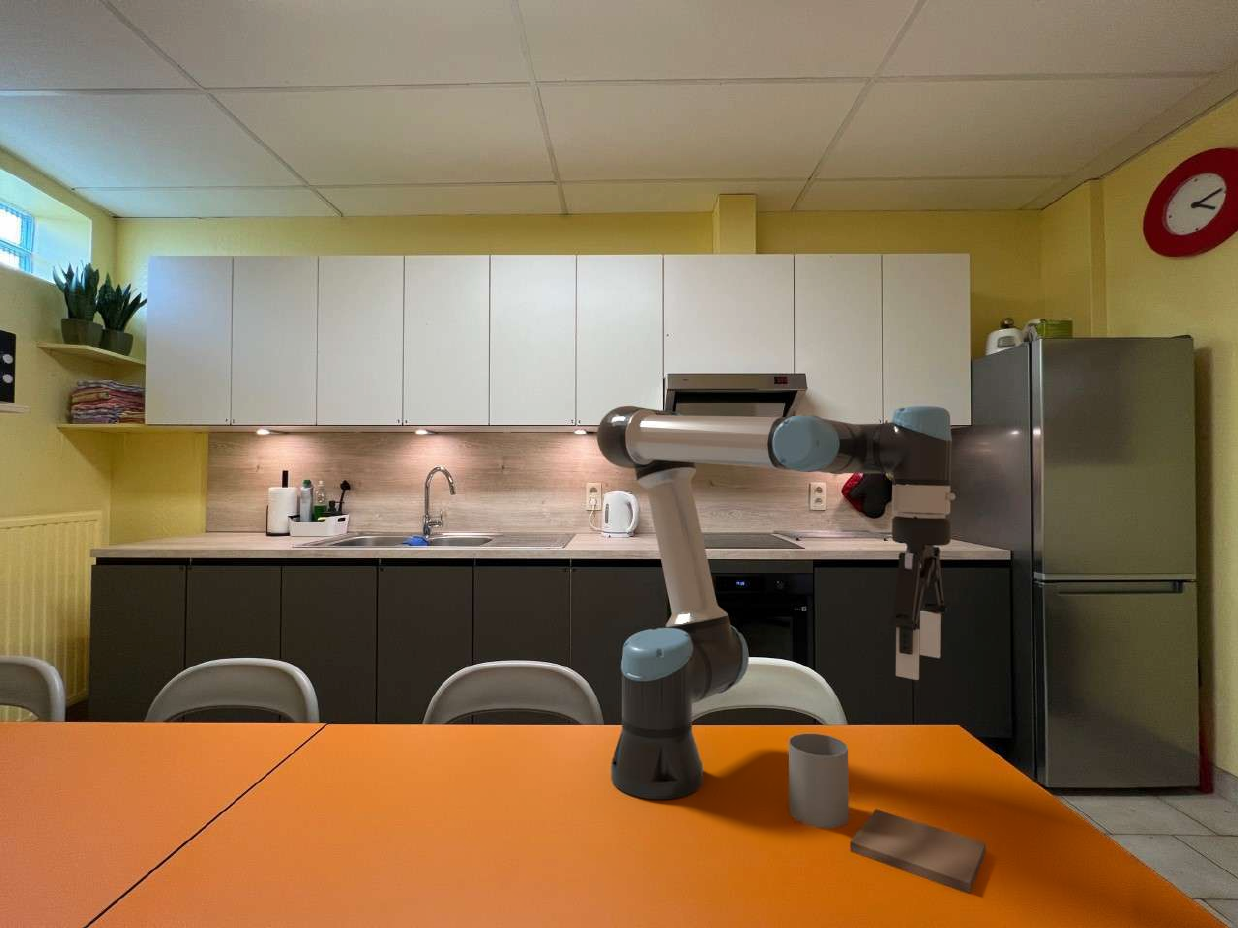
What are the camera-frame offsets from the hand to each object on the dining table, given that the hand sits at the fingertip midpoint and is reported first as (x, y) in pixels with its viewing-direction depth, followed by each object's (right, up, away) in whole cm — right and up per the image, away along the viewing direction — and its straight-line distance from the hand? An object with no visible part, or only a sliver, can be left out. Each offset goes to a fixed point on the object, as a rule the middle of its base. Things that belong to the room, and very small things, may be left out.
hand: (919, 666), depth 89 cm
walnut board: (-3, -23, -6) cm, 24 cm away
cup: (-13, -23, +4) cm, 27 cm away
